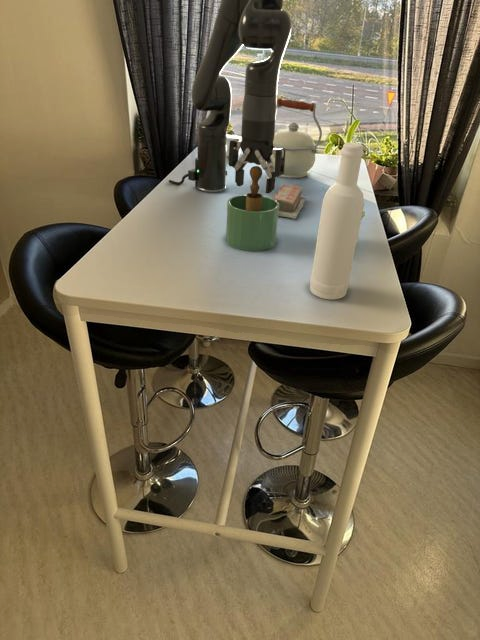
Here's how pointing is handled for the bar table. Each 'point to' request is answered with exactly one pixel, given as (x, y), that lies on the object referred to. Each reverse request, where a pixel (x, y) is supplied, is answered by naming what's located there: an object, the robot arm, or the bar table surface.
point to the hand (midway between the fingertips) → (254, 189)
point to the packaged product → (289, 201)
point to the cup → (251, 224)
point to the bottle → (339, 228)
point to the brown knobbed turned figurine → (254, 191)
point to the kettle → (296, 143)
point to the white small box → (230, 138)
